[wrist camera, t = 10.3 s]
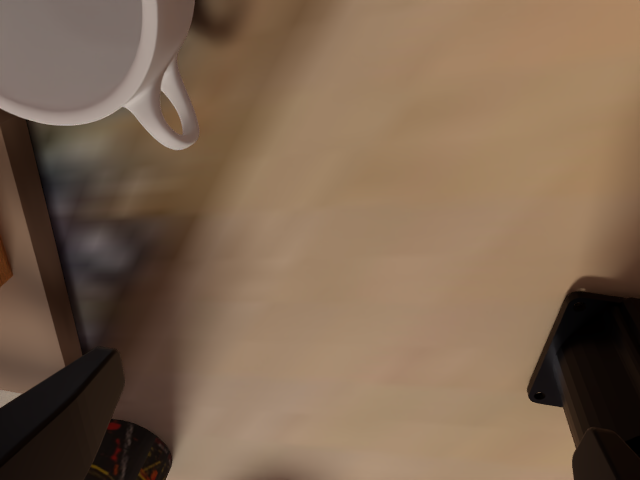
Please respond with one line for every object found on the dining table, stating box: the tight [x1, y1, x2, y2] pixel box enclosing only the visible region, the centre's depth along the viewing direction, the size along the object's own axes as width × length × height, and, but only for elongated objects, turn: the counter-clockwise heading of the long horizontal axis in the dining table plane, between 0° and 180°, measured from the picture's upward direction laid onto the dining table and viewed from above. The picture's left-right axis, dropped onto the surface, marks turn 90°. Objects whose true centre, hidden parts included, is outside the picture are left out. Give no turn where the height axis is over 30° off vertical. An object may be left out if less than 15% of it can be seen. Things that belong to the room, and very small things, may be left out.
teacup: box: [0, 0, 199, 150], centre depth 16 cm, size 10×8×5 cm
